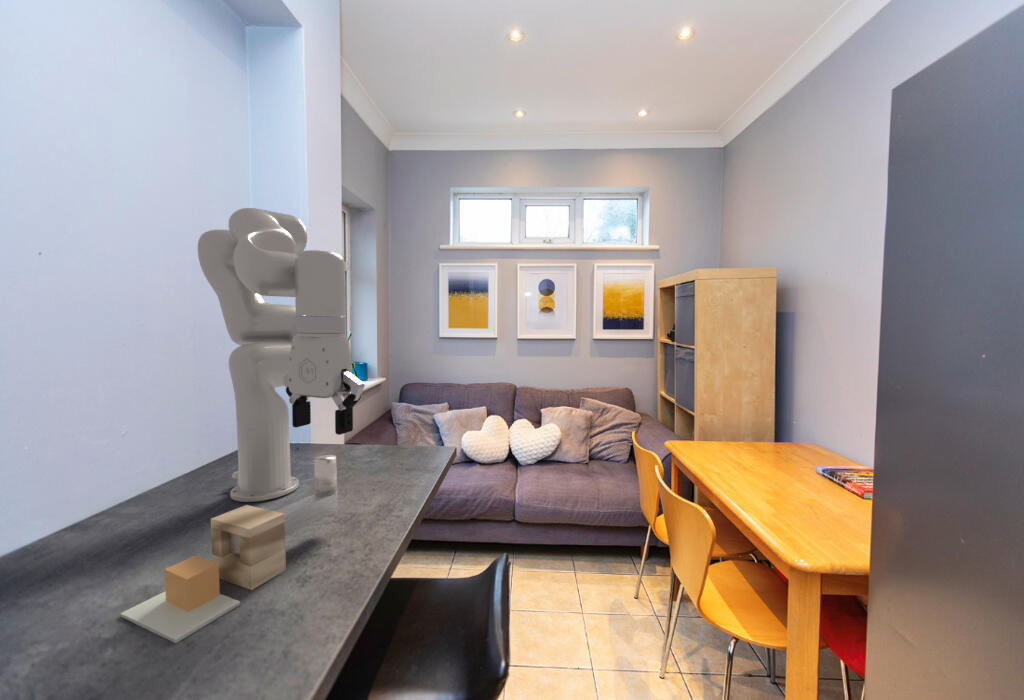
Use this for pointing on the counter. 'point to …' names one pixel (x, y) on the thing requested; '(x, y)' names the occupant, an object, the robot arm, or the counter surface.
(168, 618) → the pad
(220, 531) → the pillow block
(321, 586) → the counter surface
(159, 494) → the counter surface
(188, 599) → the block
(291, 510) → the shaft
